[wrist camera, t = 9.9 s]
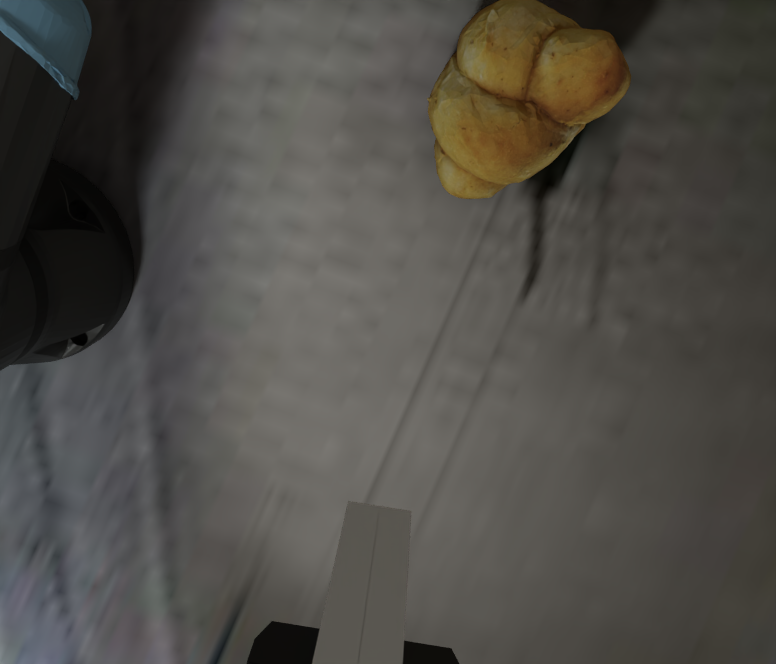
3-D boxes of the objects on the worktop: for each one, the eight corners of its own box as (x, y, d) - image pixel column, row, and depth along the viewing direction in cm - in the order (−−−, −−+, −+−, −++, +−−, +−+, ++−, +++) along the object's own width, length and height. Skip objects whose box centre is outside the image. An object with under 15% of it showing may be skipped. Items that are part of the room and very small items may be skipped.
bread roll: (487, 224, 48) (496, 244, 40) (382, 131, 46) (372, 133, 39) (621, 75, 44) (660, 67, 37) (513, -30, 43) (530, -62, 35)
